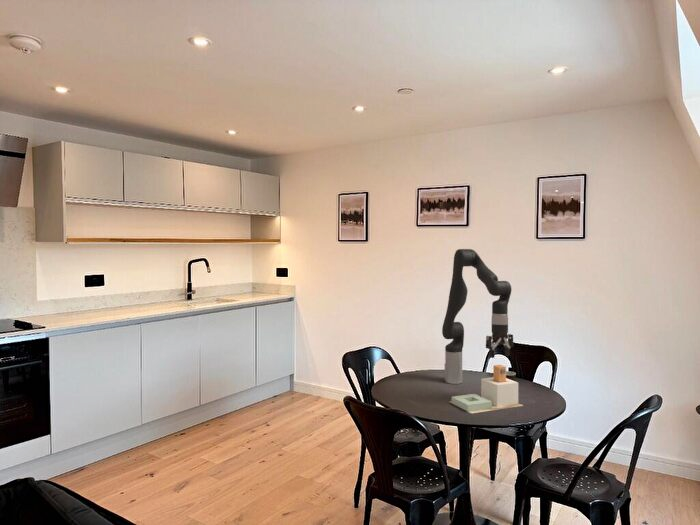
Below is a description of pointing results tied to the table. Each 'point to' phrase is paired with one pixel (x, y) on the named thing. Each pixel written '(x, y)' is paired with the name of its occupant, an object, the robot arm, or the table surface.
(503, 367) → the plug
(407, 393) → the table surface
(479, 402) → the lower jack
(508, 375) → the coffee mug
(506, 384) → the white socket block
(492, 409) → the jack board
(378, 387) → the table surface
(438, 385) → the table surface
